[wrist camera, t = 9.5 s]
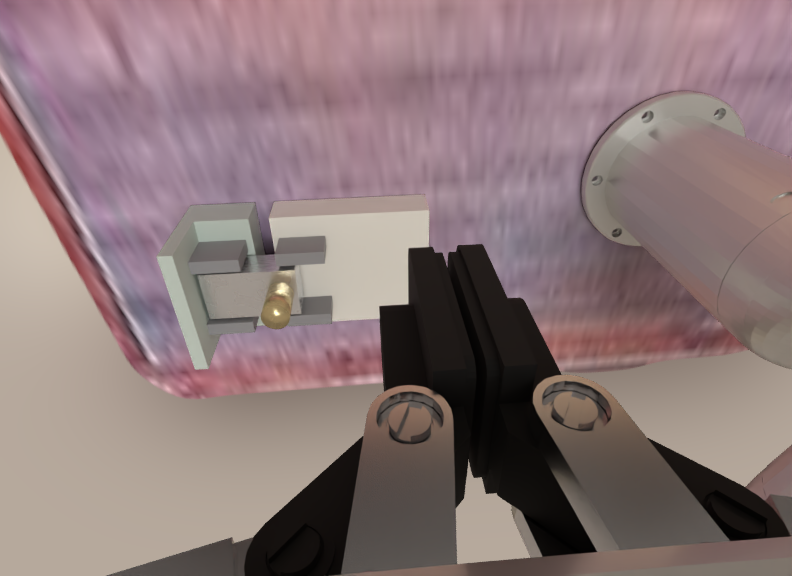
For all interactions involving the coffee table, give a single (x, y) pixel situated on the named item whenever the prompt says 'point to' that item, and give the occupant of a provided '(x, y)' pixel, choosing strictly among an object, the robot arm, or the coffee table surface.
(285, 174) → the coffee table surface
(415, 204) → the door board
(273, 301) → the bolt
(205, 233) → the door jamb
